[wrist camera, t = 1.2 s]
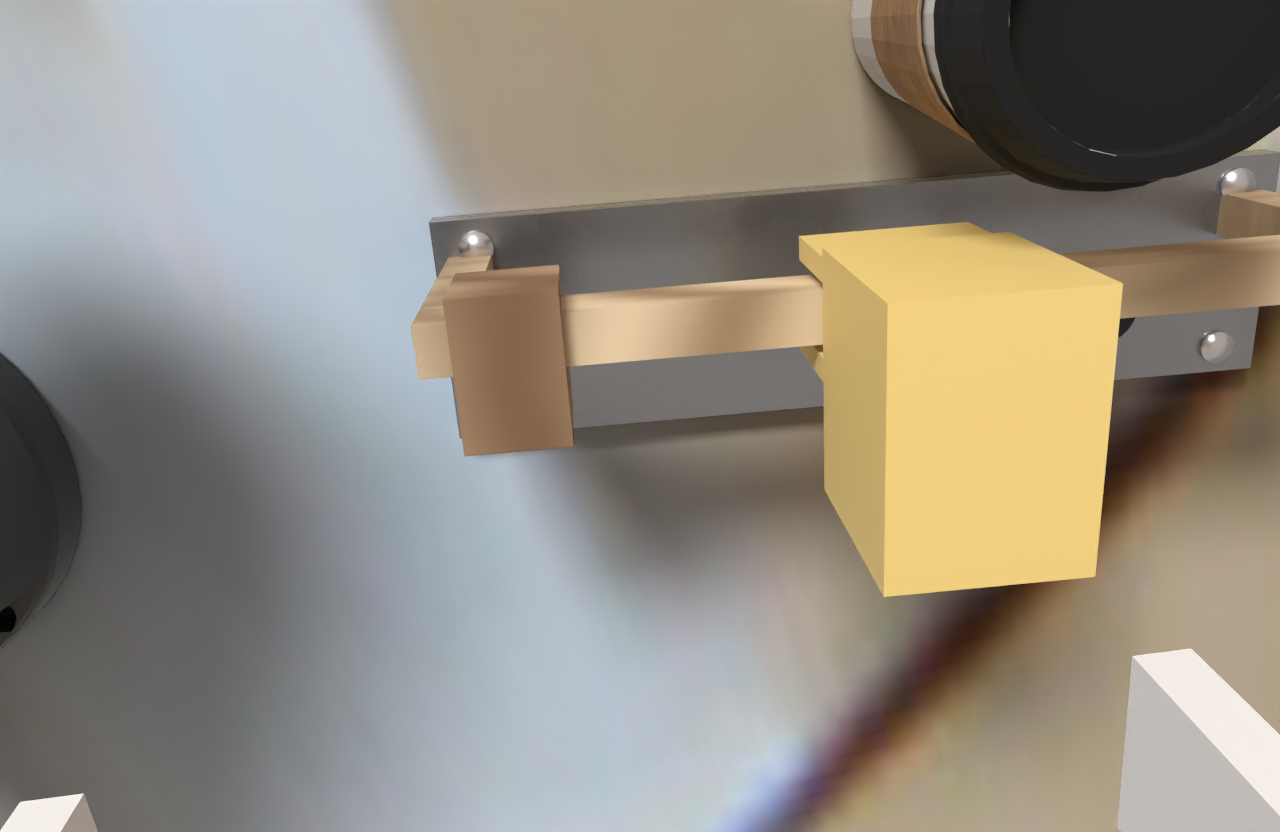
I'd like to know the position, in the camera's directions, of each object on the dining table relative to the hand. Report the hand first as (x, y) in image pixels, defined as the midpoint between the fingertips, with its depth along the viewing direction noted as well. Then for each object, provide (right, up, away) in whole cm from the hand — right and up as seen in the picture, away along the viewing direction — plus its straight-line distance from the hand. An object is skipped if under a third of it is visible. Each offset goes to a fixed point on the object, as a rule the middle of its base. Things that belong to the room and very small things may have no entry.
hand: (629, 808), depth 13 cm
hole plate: (+8, +10, +25) cm, 28 cm away
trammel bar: (+8, +10, +24) cm, 27 cm away
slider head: (+7, +9, +24) cm, 26 cm away
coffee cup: (+10, +19, +22) cm, 31 cm away
